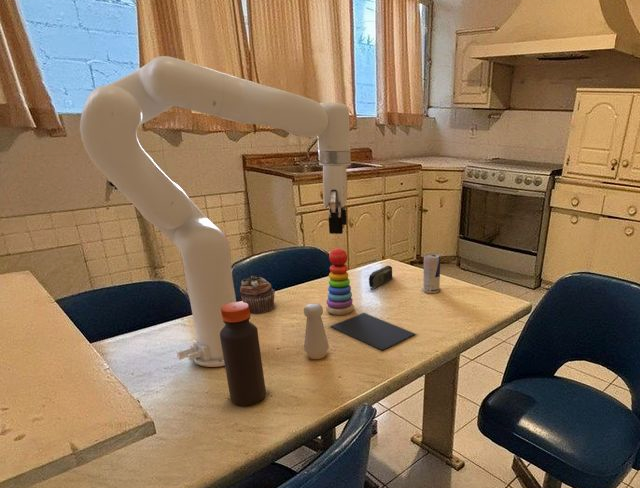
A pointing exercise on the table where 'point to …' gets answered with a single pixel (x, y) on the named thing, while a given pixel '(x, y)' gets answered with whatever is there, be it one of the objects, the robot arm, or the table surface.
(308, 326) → the salt shaker
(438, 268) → the energy drink
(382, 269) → the mobile phone
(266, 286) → the cupcake
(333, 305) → the stacking toy
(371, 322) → the mat
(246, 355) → the bottle
